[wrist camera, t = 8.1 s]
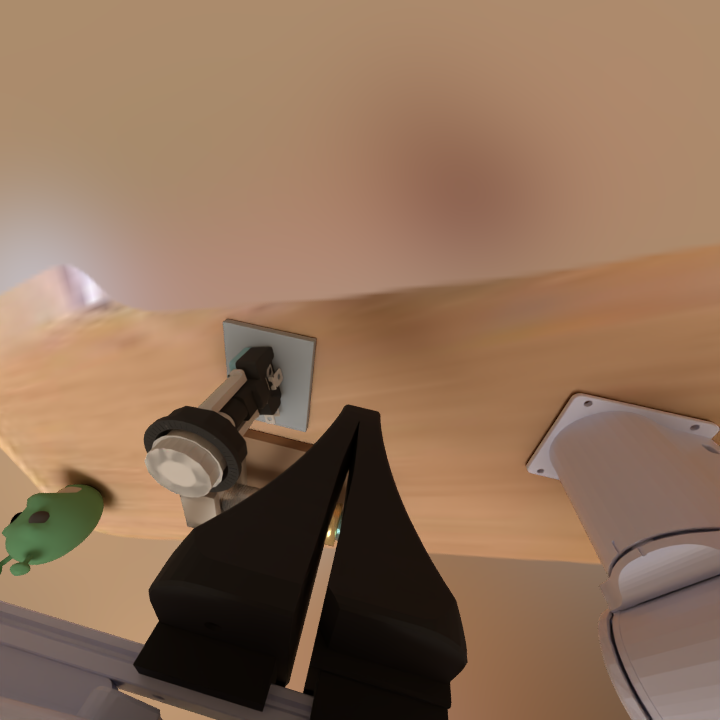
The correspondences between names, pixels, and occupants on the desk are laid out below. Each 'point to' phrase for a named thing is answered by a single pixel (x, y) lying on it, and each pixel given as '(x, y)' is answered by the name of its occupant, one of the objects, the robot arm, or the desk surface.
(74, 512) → the alien toy
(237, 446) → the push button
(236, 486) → the shaft
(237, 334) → the pad
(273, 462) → the bracket
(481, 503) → the desk surface
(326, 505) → the robot arm
